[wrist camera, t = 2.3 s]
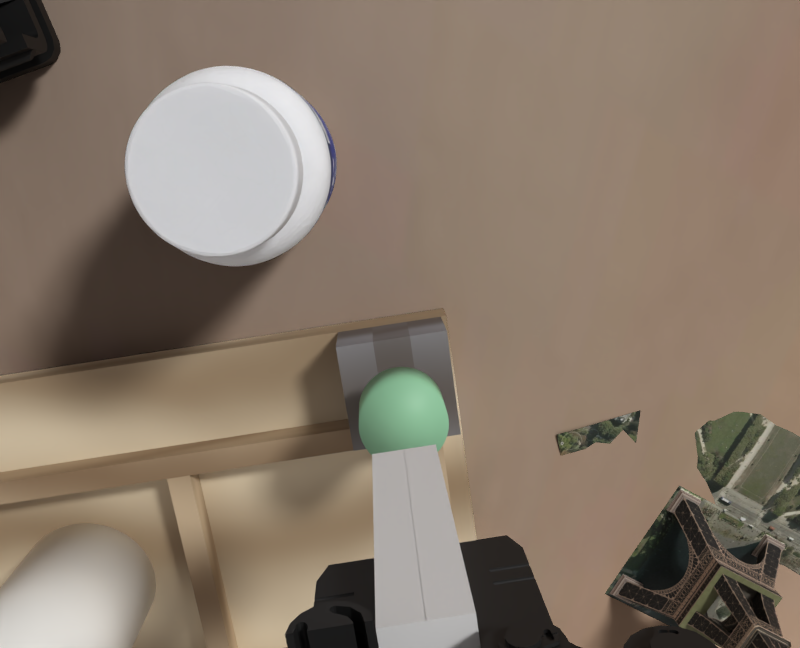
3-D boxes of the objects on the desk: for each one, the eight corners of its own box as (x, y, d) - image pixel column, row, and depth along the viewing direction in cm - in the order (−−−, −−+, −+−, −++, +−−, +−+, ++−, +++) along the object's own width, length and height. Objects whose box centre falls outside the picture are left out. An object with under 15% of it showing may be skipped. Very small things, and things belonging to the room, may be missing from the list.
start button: (354, 355, 25) (351, 389, 21) (432, 343, 25) (442, 375, 21) (366, 429, 25) (366, 473, 22) (442, 417, 25) (454, 460, 22)
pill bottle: (274, 270, 27) (229, 331, 18) (152, 172, 26) (45, 188, 17) (370, 153, 26) (372, 159, 17) (248, 48, 25) (186, -1, 16)
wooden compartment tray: (-107, 391, 27) (-168, 424, 24) (443, 308, 27) (453, 329, 24) (-8, 696, 30) (-51, 759, 27) (485, 619, 30) (498, 674, 27)
